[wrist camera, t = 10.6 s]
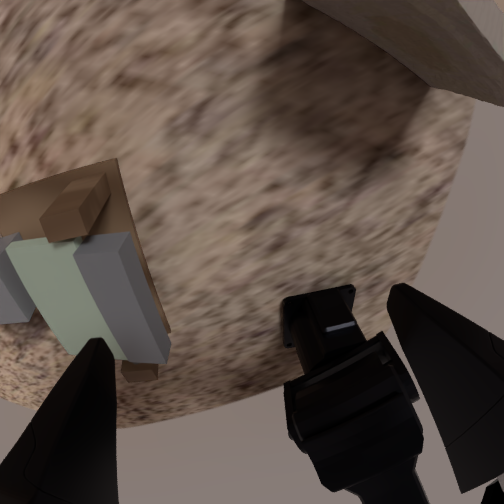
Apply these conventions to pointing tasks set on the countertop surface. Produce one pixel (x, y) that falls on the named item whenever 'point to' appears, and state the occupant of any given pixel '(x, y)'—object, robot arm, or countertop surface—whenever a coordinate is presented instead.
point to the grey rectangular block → (12, 288)
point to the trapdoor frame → (79, 222)
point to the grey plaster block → (434, 39)
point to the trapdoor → (93, 294)
